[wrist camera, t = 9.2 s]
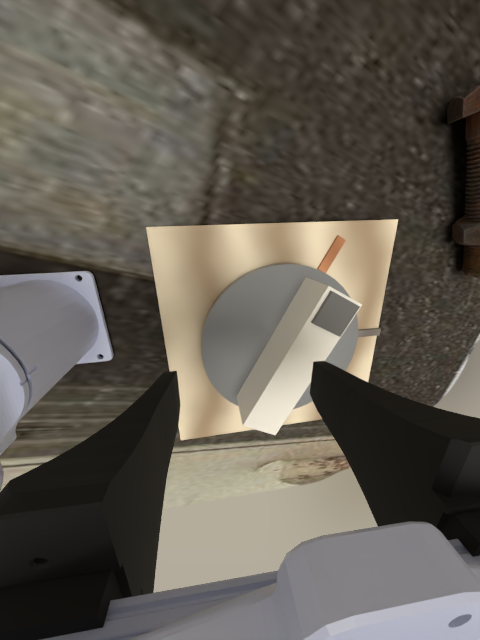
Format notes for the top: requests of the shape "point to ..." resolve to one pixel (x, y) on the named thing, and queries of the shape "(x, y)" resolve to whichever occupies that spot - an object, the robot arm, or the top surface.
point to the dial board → (235, 261)
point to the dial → (276, 339)
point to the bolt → (469, 179)
